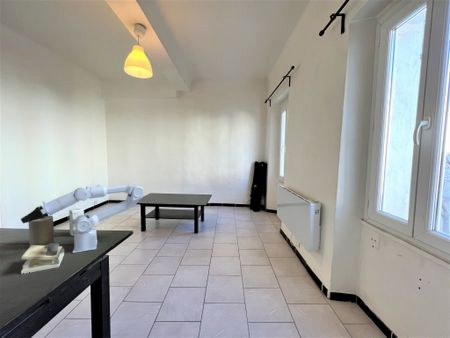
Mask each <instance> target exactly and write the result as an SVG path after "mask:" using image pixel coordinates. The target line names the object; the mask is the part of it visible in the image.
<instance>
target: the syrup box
mask: <svg viewBox="0 0 450 338" xmlns="http://www.w3.org/2000/svg"><path fill="white" fill-rule="evenodd" d="M84 213H85V210H84V209H83V208H80V207H79V208H74V209H68V217H69V218H68V219H69V220H68V221H69V223H68V224H69V235H70V236H71V237H74V230H75V229H76V227H75V224H74V221H75V219H76V218H77V217H78V216H81V215H85V214H84Z"/></svg>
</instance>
